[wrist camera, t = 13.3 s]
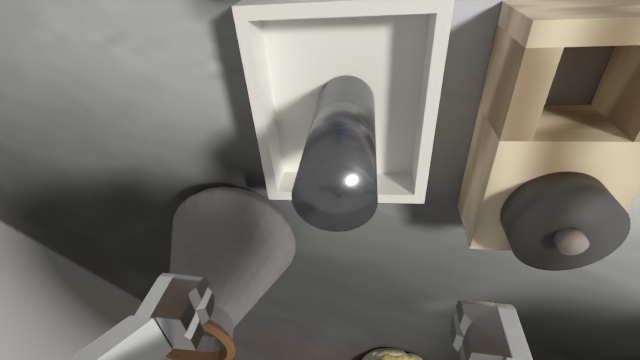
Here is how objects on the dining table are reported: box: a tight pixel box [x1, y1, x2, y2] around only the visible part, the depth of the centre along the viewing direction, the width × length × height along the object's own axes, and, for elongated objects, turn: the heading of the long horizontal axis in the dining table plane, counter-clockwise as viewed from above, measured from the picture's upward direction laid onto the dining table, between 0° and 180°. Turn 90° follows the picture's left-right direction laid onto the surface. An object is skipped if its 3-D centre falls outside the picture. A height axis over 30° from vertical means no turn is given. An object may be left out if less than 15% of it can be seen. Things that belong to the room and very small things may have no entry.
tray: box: [231, 0, 454, 204], centre depth 24 cm, size 12×14×4 cm
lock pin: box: [291, 75, 378, 232], centre depth 21 cm, size 4×4×11 cm
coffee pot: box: [166, 187, 295, 360], centre depth 31 cm, size 21×12×15 cm, turn 156°
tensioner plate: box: [457, 0, 640, 271], centre depth 22 cm, size 9×16×8 cm, turn 3°
